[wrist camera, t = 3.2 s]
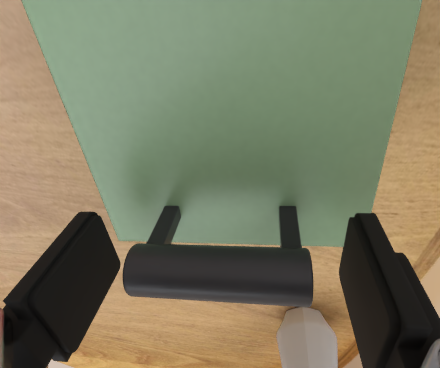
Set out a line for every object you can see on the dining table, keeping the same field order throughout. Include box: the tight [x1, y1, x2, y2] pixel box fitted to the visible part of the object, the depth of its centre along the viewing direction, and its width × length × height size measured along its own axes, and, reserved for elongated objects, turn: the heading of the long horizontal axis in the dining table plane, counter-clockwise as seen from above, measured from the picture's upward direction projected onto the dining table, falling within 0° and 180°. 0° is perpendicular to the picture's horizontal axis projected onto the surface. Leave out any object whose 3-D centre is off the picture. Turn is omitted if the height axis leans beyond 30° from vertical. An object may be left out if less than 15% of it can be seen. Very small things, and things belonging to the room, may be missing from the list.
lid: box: [21, 0, 422, 307], centre depth 8 cm, size 15×12×5 cm
